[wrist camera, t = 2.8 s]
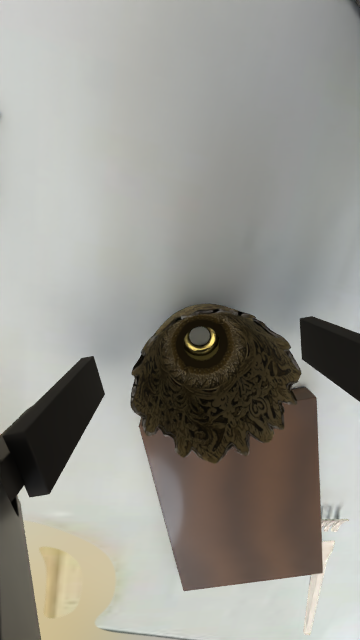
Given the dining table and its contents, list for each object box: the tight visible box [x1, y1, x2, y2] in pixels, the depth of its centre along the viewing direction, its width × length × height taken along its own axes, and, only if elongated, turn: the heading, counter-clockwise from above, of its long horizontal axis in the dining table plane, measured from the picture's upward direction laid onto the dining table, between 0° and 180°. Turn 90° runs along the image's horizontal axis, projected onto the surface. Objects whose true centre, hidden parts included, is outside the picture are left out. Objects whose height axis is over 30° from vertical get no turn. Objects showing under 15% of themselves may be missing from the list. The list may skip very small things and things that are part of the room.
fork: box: [303, 519, 349, 635], centre depth 24 cm, size 3×20×2 cm, turn 2°
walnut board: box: [139, 387, 323, 591], centre depth 20 cm, size 14×20×2 cm
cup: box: [131, 304, 301, 464], centre depth 13 cm, size 8×7×8 cm
